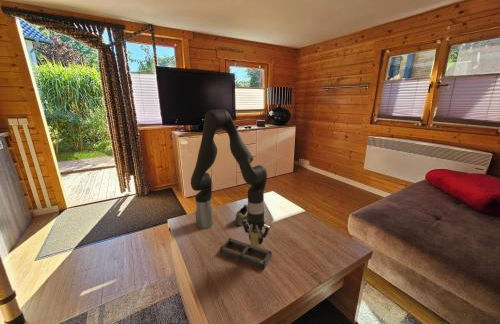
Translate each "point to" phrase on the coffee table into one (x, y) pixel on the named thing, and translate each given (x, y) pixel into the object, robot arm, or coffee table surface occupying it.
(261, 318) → the coffee table surface
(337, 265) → the coffee table surface
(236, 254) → the dark grey rectangular tray
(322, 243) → the coffee table surface
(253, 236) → the block
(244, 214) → the hiking shoe
